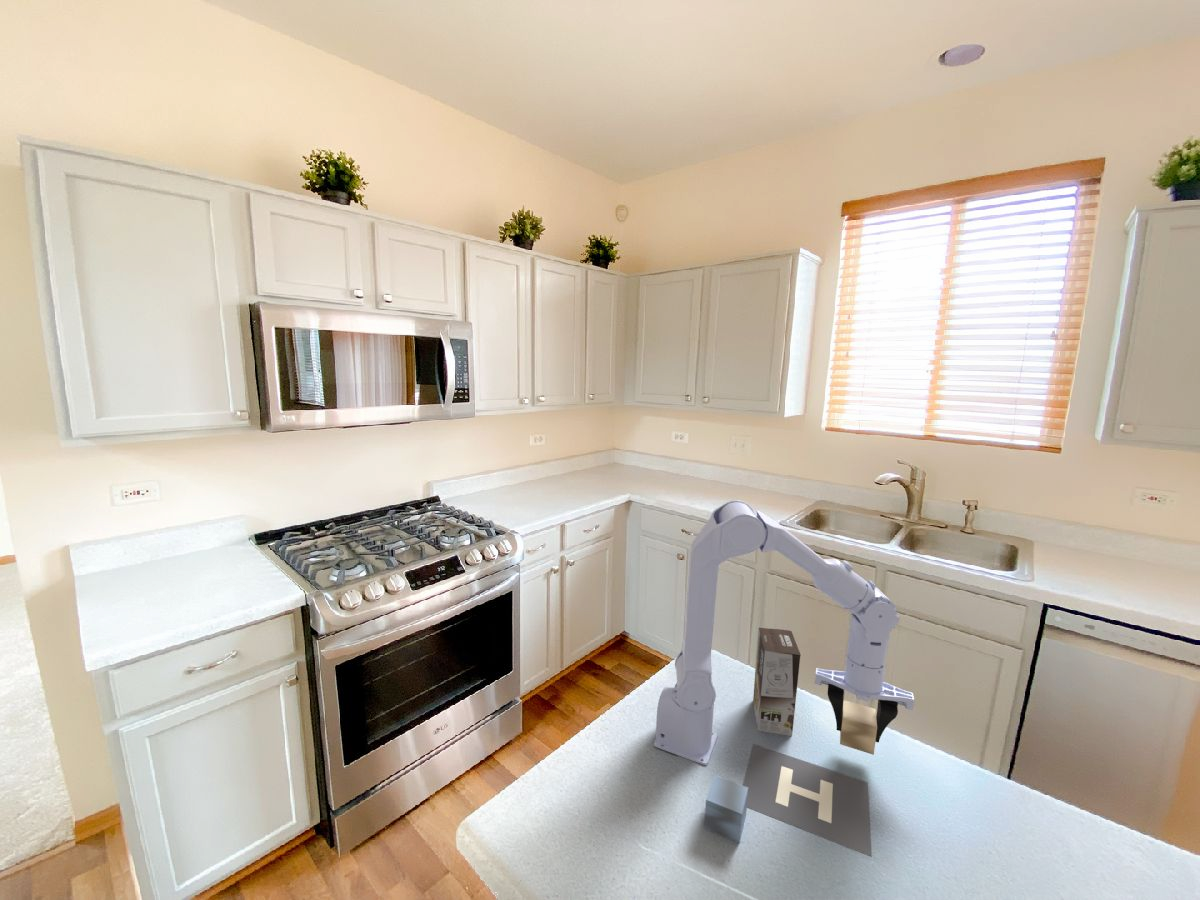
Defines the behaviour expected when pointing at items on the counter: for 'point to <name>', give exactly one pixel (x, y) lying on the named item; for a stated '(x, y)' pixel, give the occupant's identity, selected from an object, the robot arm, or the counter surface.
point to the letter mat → (809, 798)
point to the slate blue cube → (726, 808)
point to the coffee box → (776, 681)
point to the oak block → (858, 727)
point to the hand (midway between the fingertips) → (857, 732)
